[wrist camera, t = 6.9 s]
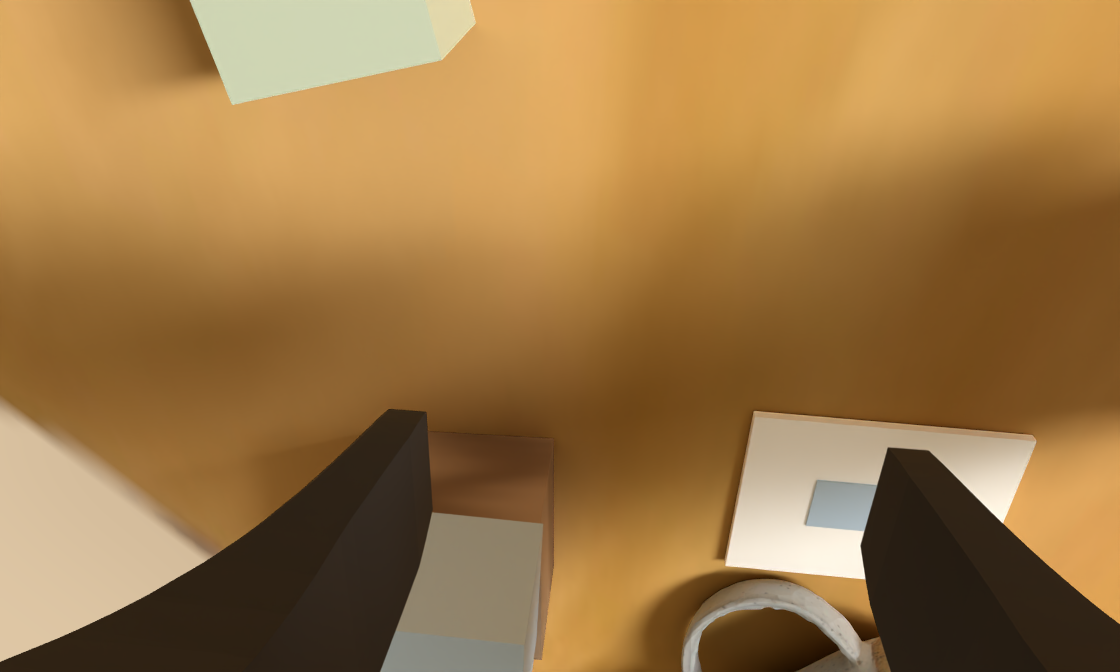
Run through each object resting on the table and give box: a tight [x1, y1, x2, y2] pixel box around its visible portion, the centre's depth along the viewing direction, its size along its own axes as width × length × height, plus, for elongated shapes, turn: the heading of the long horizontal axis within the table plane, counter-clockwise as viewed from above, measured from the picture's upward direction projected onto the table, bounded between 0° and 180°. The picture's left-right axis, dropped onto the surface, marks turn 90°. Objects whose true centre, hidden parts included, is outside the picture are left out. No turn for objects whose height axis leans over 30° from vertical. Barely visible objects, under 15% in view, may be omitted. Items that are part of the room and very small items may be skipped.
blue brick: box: [380, 512, 543, 672], centre depth 22 cm, size 5×5×4 cm
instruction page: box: [725, 411, 1037, 579], centre depth 26 cm, size 8×6×1 cm
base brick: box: [428, 431, 554, 660], centre depth 26 cm, size 5×5×4 cm
